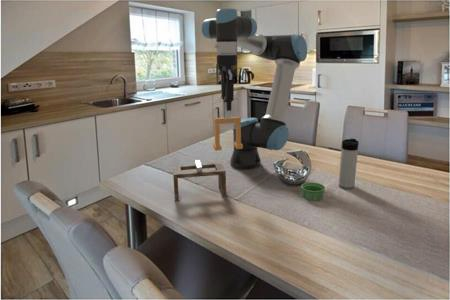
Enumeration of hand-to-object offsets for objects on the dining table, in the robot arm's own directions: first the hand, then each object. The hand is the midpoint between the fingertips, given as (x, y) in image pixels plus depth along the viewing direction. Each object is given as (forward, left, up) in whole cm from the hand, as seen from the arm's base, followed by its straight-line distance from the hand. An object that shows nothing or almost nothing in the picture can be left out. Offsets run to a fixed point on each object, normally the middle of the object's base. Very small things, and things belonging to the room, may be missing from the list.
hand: (227, 117), depth 135 cm
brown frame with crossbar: (+12, 0, -31) cm, 33 cm away
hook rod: (+12, 0, -20) cm, 23 cm away
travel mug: (-49, +5, -31) cm, 58 cm away
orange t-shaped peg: (0, 0, -12) cm, 12 cm away
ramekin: (-31, +11, -31) cm, 46 cm away
